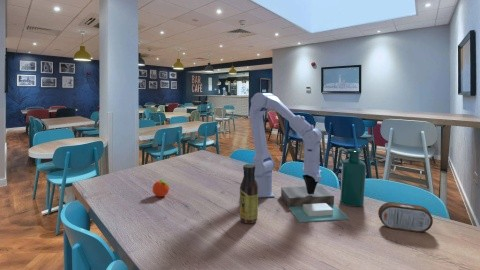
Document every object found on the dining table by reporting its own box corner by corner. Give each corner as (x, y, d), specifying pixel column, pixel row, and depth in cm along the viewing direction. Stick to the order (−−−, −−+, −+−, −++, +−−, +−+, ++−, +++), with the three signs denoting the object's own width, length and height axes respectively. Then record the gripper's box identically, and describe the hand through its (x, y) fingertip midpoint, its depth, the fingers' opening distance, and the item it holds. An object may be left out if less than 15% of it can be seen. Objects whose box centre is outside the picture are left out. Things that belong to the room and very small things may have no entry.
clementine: (174, 195, 118) (174, 179, 116) (164, 200, 111) (163, 184, 110) (160, 192, 121) (159, 177, 120) (149, 197, 115) (148, 181, 114)
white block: (303, 204, 101) (302, 209, 101) (309, 211, 95) (308, 216, 95) (325, 203, 102) (325, 208, 102) (333, 209, 96) (332, 214, 96)
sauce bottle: (239, 216, 96) (238, 162, 93) (256, 216, 97) (256, 162, 94) (240, 225, 90) (240, 168, 87) (259, 224, 90) (259, 167, 87)
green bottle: (361, 199, 111) (365, 147, 108) (364, 207, 103) (367, 151, 100) (336, 196, 114) (339, 146, 111) (337, 204, 106) (339, 150, 103)
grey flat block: (289, 207, 103) (289, 198, 103) (281, 196, 115) (281, 187, 115) (333, 205, 105) (334, 195, 105) (321, 194, 117) (321, 185, 117)
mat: (299, 222, 92) (299, 221, 92) (289, 207, 103) (289, 206, 103) (349, 219, 94) (349, 218, 94) (333, 205, 105) (333, 204, 105)
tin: (429, 230, 86) (432, 205, 84) (432, 235, 83) (435, 209, 82) (377, 223, 91) (379, 199, 90) (378, 227, 88) (380, 203, 87)
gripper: (329, 164, 97) (328, 200, 99) (314, 155, 111) (313, 186, 113) (311, 164, 96) (309, 201, 98) (297, 155, 110) (297, 187, 112)
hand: (310, 193), depth 105 cm, fingers closed
